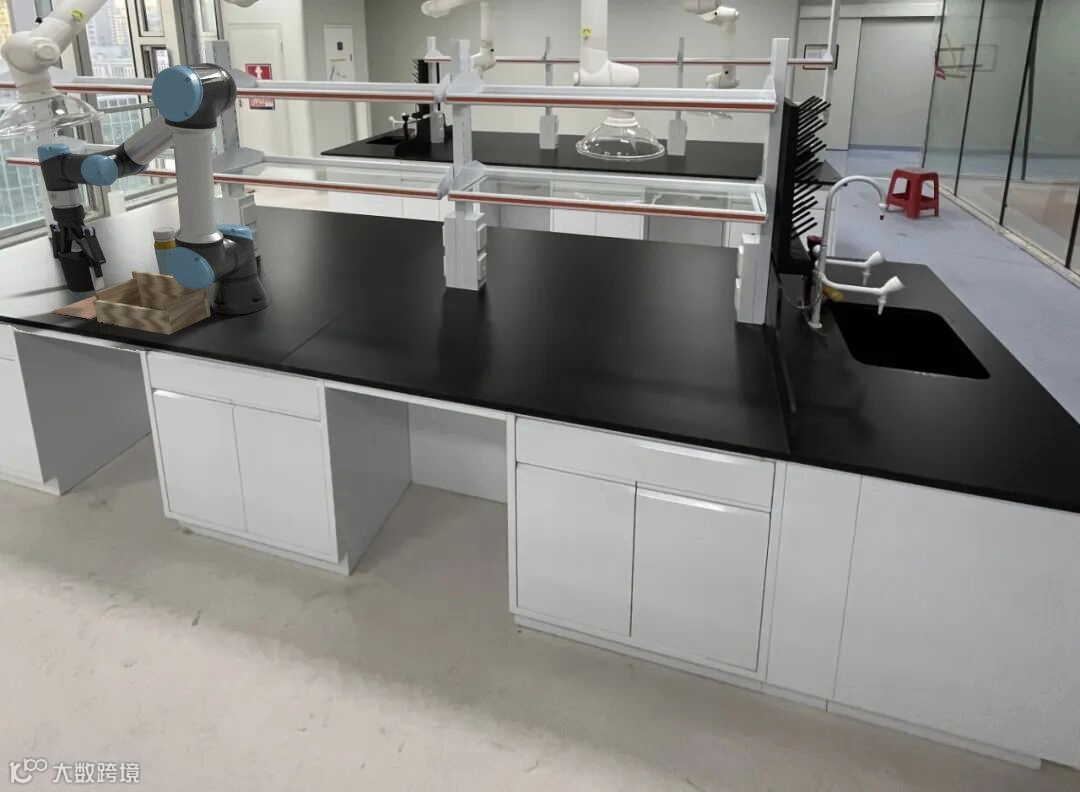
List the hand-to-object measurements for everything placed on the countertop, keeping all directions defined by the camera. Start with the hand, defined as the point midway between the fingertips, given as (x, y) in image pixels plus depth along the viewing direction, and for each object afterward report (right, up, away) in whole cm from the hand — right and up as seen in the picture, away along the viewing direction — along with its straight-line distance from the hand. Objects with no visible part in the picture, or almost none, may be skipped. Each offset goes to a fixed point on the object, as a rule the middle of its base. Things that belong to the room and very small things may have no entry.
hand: (86, 286), depth 223 cm
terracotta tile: (0, -6, +3) cm, 7 cm away
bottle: (+10, +7, +30) cm, 32 cm away
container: (-13, +4, +24) cm, 27 cm away
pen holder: (0, -1, 0) cm, 1 cm away
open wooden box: (+21, -9, -4) cm, 23 cm away
